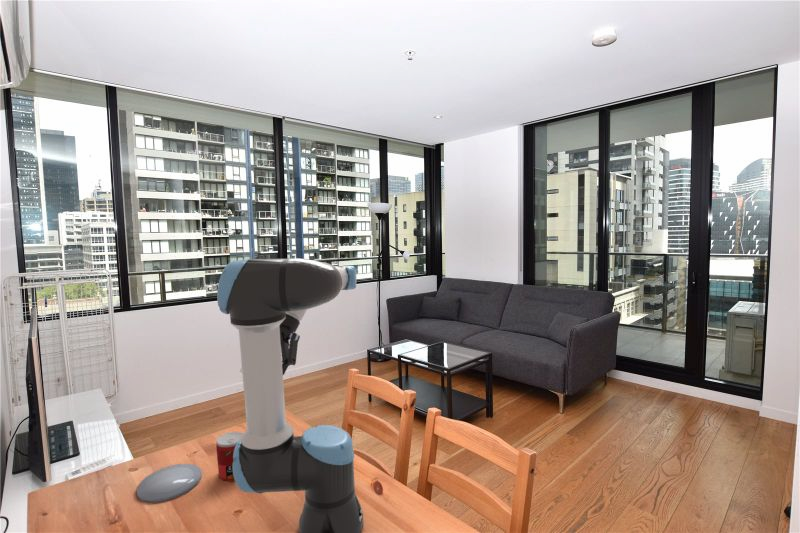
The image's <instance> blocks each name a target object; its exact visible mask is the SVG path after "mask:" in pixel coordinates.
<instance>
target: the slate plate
mask: <svg viewBox="0 0 800 533" xmlns="http://www.w3.org/2000/svg"><path fill="white" fill-rule="evenodd" d="M201 479H202V469H201V468H200V467H199V466H198V465H195V464H194V463H193V464H191V463H180V464H173V465H169V466H166V467H163V468H160V469H158V470H156V471H154V472H152V473H150V474H149V475H147V476H146V477H145V478H143V479H142V480H140V482H139V483H138V485H137V487H136V496H137V498H138V499H139V500H140V501H143V502H144V503H145V502H146V503H160V502H161V503H162V502H166V501H170V500H173V499H177V498H178V497H181V496H183V495H185V494H186V493H188V492H190V491H191V490H193V489H194V488H195V487H196V486H197V485H198V484H199V483H200V481H201Z"/></svg>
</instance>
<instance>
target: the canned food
mask: <svg viewBox="0 0 800 533" xmlns="http://www.w3.org/2000/svg"><path fill="white" fill-rule="evenodd" d="M243 433H244V432H241V431H228V432H226V433H223V434H221V435H219V436H218V437H217V438H216V440H215V444H216V446H215V447H216V459H217V471H218V476H219V479H220V480H222V481H224V482H231V481H235V479H234V475H233V462H234V459H233V454H234V449H235V446H236V444H237V443H238V442H239V440H241V436H242V434H243Z"/></svg>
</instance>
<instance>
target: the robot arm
mask: <svg viewBox="0 0 800 533" xmlns="http://www.w3.org/2000/svg"><path fill="white" fill-rule="evenodd" d="M356 288H357V268H356V267H355V266H353V265H333V264H331V263H328V262H323V261H317V260H313V259H308V258H299V257H297V258H296V257H292V258H291V257H290V258H247V259H246V258H245V259H238V260H237V259H236V260H232V261H230V262H229V263H227V264H226V266H225V267H224V268H223V270H222V273H221V274H220V276H219V280H218V284H217V293H216V295H217V296H216V297H217V298H216V299H217V300H216V301H217V305H218V307H219V311H220V312H221V313H223V314H225V315H229V318H230V325H231V326H233V327H234V328H235V329H237V330H238V334H239V335H238V336H239V337H238V338H239V348H240V359H241V360H240V362H241V368H240V371H239V372H240V373H242V382H243V383H242V384H243V385H242V387H243V395H244V398H243V399H244V407H245V408H244V409H245V417H246V418H245V419H246V420H245V422H246V430H244V432H242V433H243V434H242V436H241V440H239V442H238V443H237V444H236V446H235V449H234V454H233V459H234V462H233V475H234V479H235V480H234V482H235V484H236V485H235V486H237V488H239V490H240V491H242V492H243V493H252V494H253V493H255V494H259V495H260V494H264V493H276V492H277V493H278V492H279V493H280V492H297V491H298V492H299V491H301V492H302V491H303V492H304V503H303V506H302V511H301V514H300V517H299V521H298V532H299V533H362V531H363V527H364V513H363V512H364V511H363V509H362V506H361V504H360V500H359V498H358V496H357V494H356V490H355V487H356V486H355V467H354V464H355V463H354V462H355V461H354V459H355V451H354V445H353V444H354V443H353V439H352V437H351V435H350V433H349V432H348V431H346V430H345V429H344V428H342V427H339V426H336V425H330V424H322V425H321V424H320V425H315V427H314V426H311V427H309V428H307V429H306V430H305V431H304V432H303V434H302V435H301V436H299V435H297V436H295V435H294V429H293V425H292V424H290V423H288V422H287V419H286V406H285V404H286V403H285V402H286V401H285V390H284V387H285V386H284V375H285V374H286V372H287V369H288V367H289V366H295V365H296V363H297V357H298V356H297V355H298V353H297V352H298V344H299V341H300V338H301V336H300V335H299V334H298V333H296V331H297V330H298V328H299V326H300V324H301V322H300V321H302V320H303V317H304V316H305V314H306V312H307V310H310V309H313V308H317V307H319V306H321V305H324V304H327V303H329V302H331V301H332V300H334V299H335V298H336V297H338V296H339V294H340V292H341V291H349V290H355V289H356Z"/></svg>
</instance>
